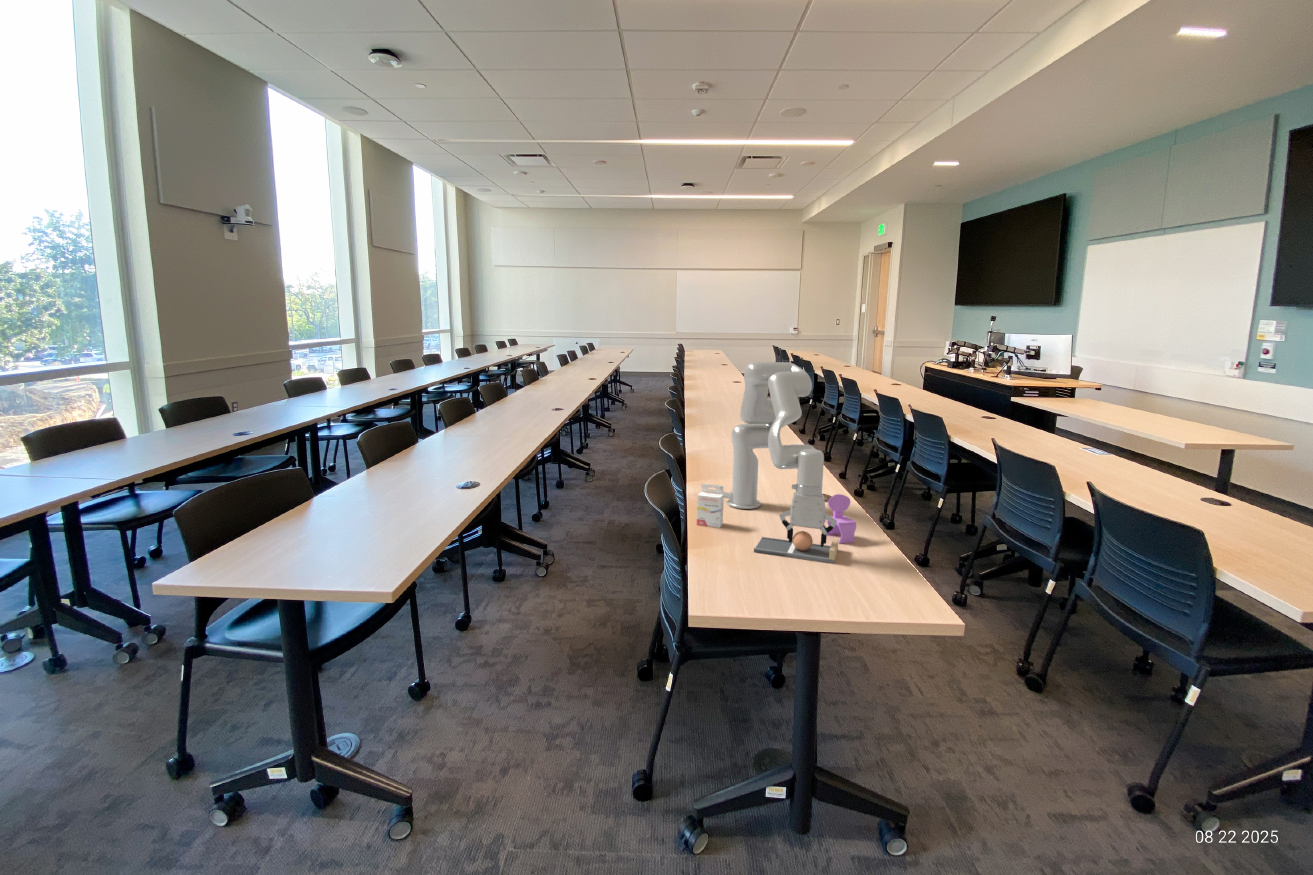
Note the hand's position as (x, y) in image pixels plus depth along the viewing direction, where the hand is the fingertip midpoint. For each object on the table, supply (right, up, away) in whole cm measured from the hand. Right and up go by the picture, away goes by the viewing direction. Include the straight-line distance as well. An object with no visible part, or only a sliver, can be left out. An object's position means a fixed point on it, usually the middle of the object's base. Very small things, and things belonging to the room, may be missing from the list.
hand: (806, 543), depth 185 cm
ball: (-2, +3, 0) cm, 4 cm away
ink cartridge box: (-28, +1, +25) cm, 38 cm away
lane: (-3, -3, +2) cm, 4 cm away
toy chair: (+14, -1, +12) cm, 19 cm away
